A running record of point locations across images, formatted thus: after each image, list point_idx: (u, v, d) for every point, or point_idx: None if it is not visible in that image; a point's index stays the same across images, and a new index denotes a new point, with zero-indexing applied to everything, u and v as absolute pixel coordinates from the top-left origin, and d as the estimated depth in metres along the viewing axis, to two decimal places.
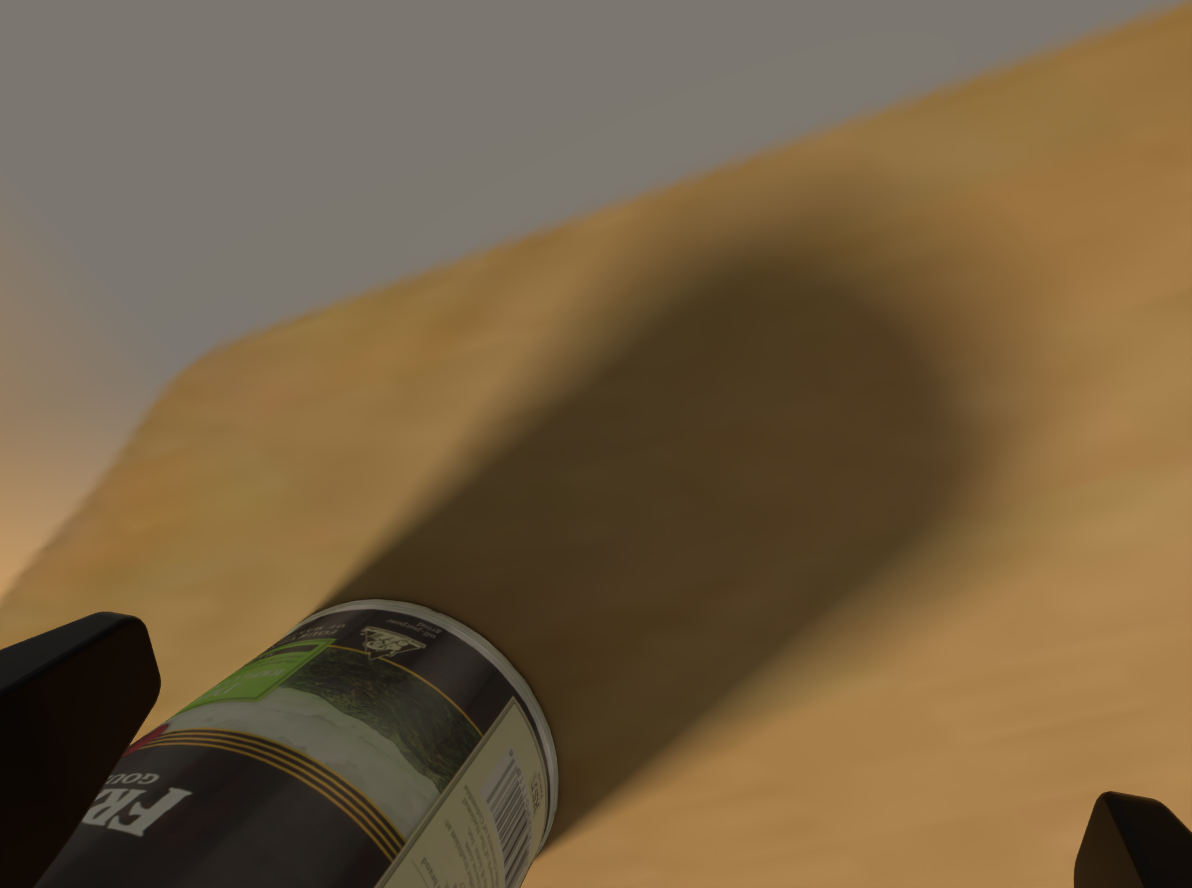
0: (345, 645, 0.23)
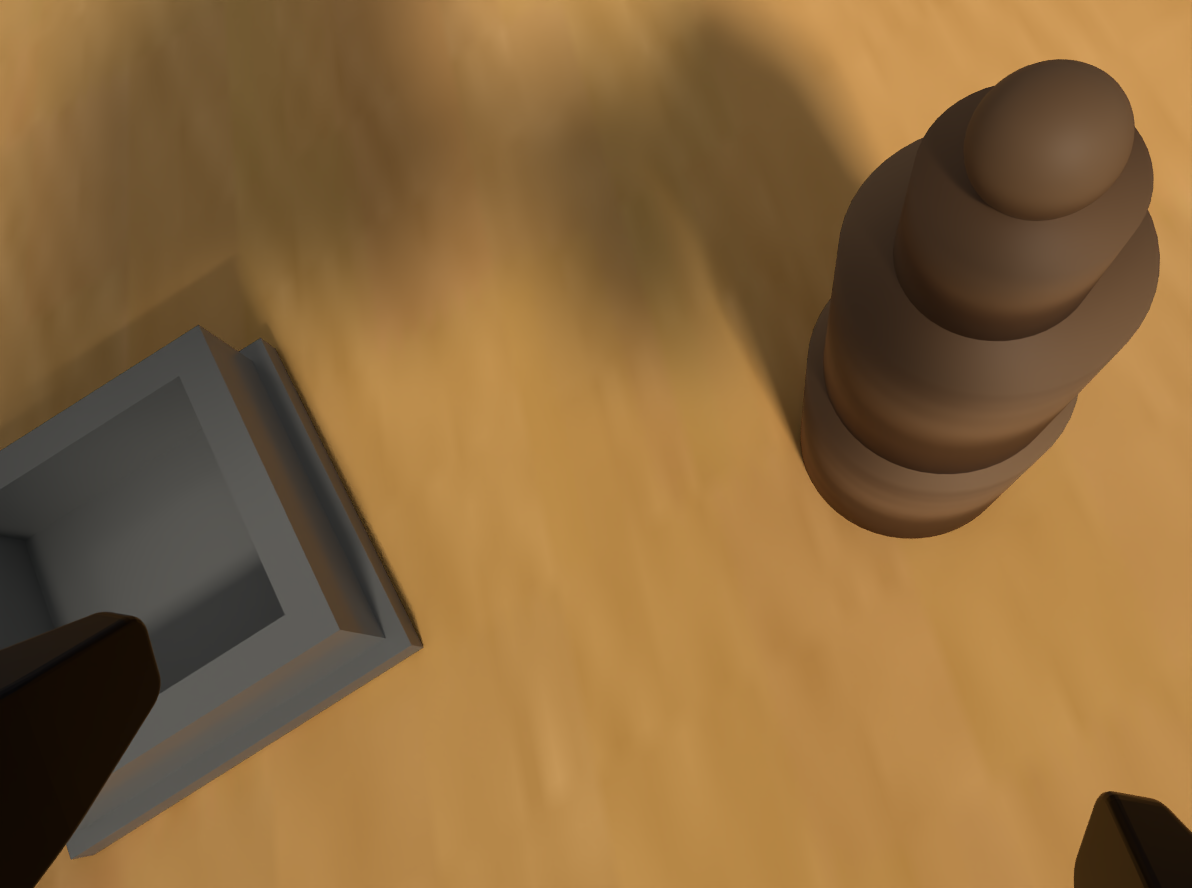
0: None
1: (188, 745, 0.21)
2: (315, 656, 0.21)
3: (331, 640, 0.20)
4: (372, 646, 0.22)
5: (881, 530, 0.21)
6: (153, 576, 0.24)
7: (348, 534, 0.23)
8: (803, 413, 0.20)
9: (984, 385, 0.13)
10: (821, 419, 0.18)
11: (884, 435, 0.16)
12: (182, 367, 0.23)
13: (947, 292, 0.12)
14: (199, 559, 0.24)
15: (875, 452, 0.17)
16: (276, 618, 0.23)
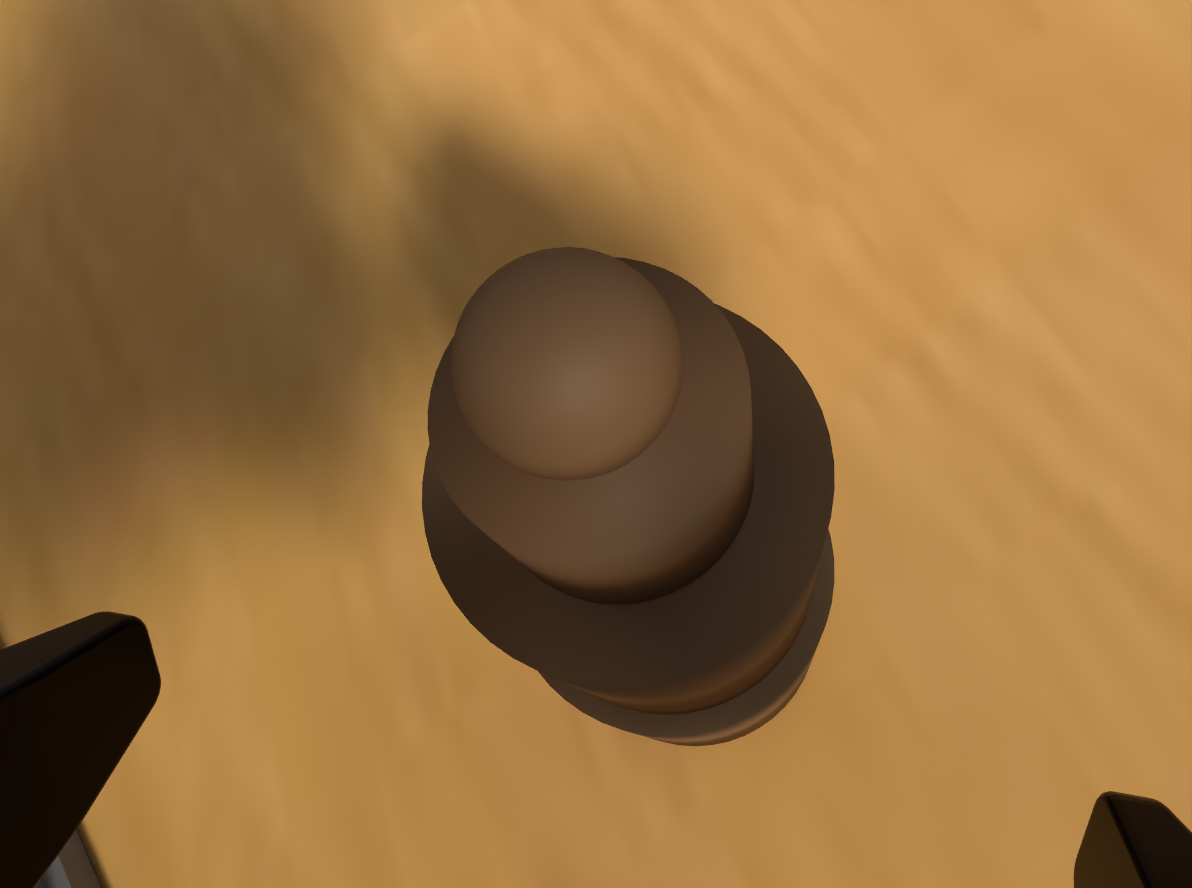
0: None
1: None
2: None
3: None
4: None
5: None
6: None
7: None
8: None
9: (609, 674, 0.09)
10: None
11: None
12: None
13: (519, 561, 0.08)
14: None
15: None
16: None
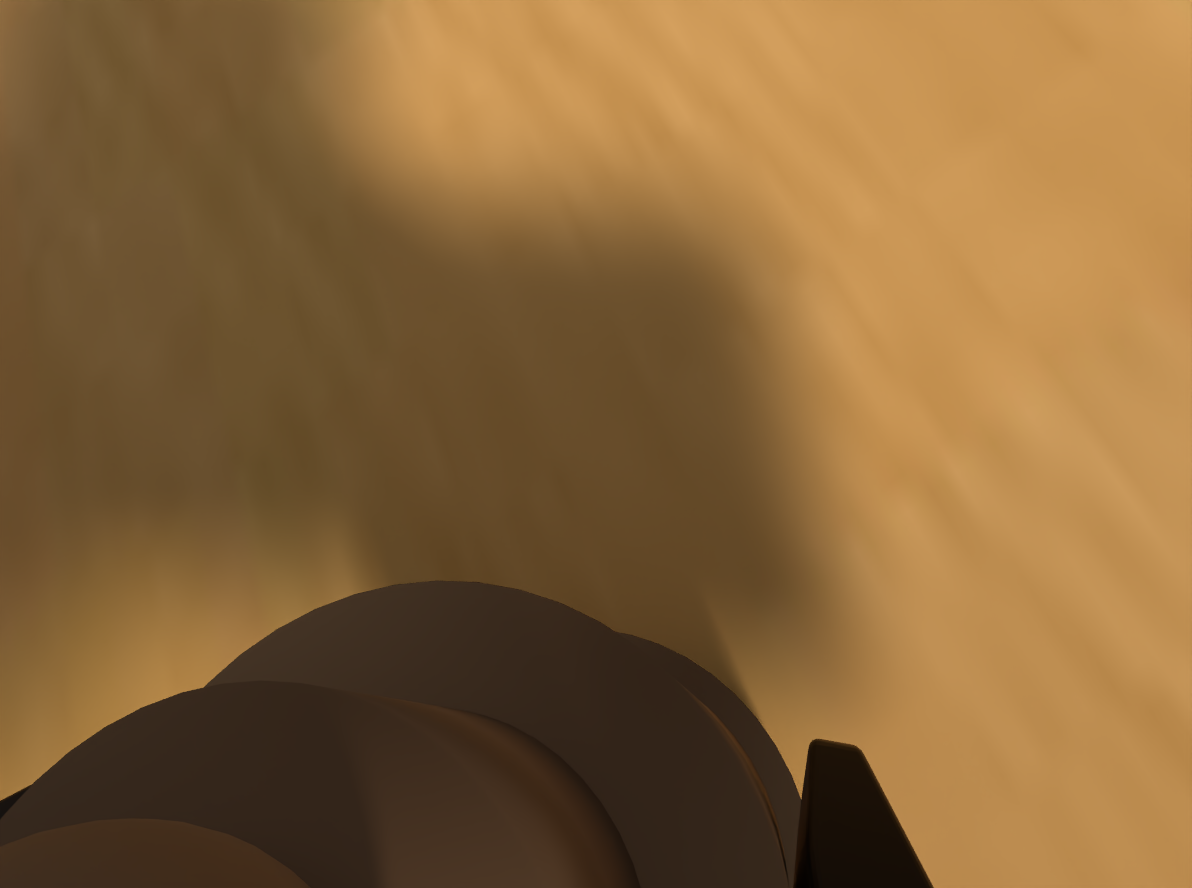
0: None
1: None
2: None
3: None
4: None
5: None
6: None
7: None
8: None
9: None
10: None
11: None
12: None
13: None
14: None
15: None
16: None
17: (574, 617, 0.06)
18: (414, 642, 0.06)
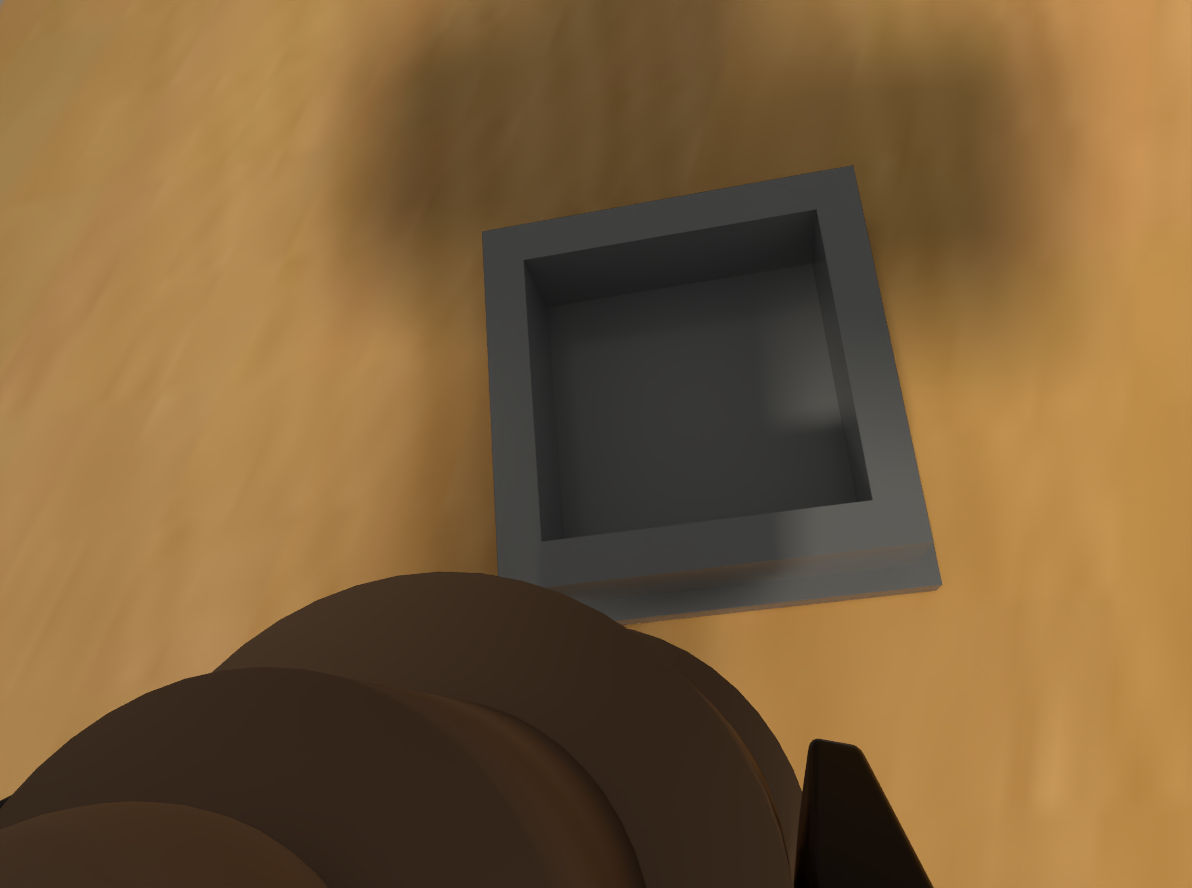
0: None
1: (691, 581, 0.20)
2: (875, 554, 0.19)
3: (910, 547, 0.18)
4: (898, 567, 0.20)
5: None
6: (673, 396, 0.23)
7: None
8: None
9: None
10: None
11: None
12: (822, 202, 0.21)
13: None
14: (728, 400, 0.22)
15: None
16: (796, 493, 0.21)
17: (576, 608, 0.06)
18: (416, 633, 0.06)
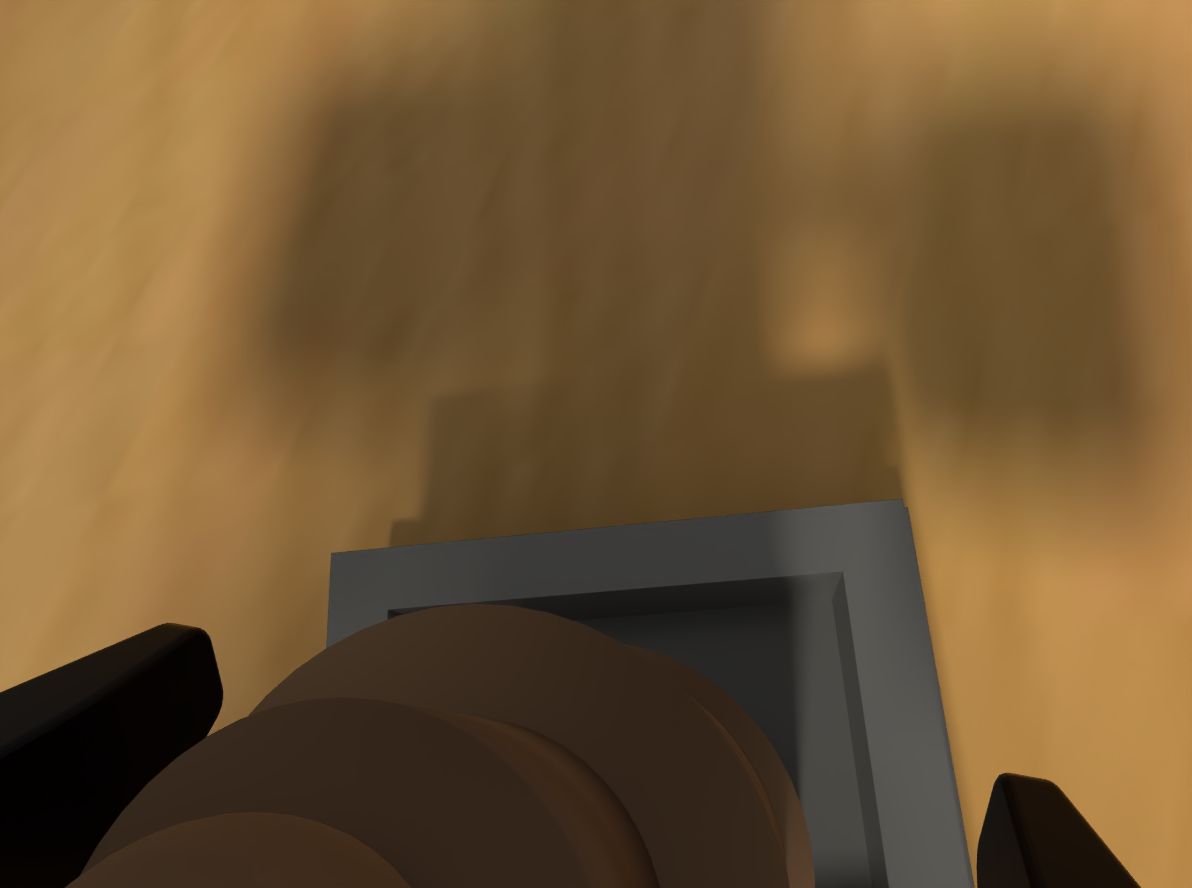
0: None
1: None
2: None
3: None
4: None
5: None
6: None
7: None
8: None
9: None
10: None
11: None
12: (853, 560, 0.13)
13: None
14: None
15: None
16: None
17: (596, 637, 0.06)
18: (453, 659, 0.06)
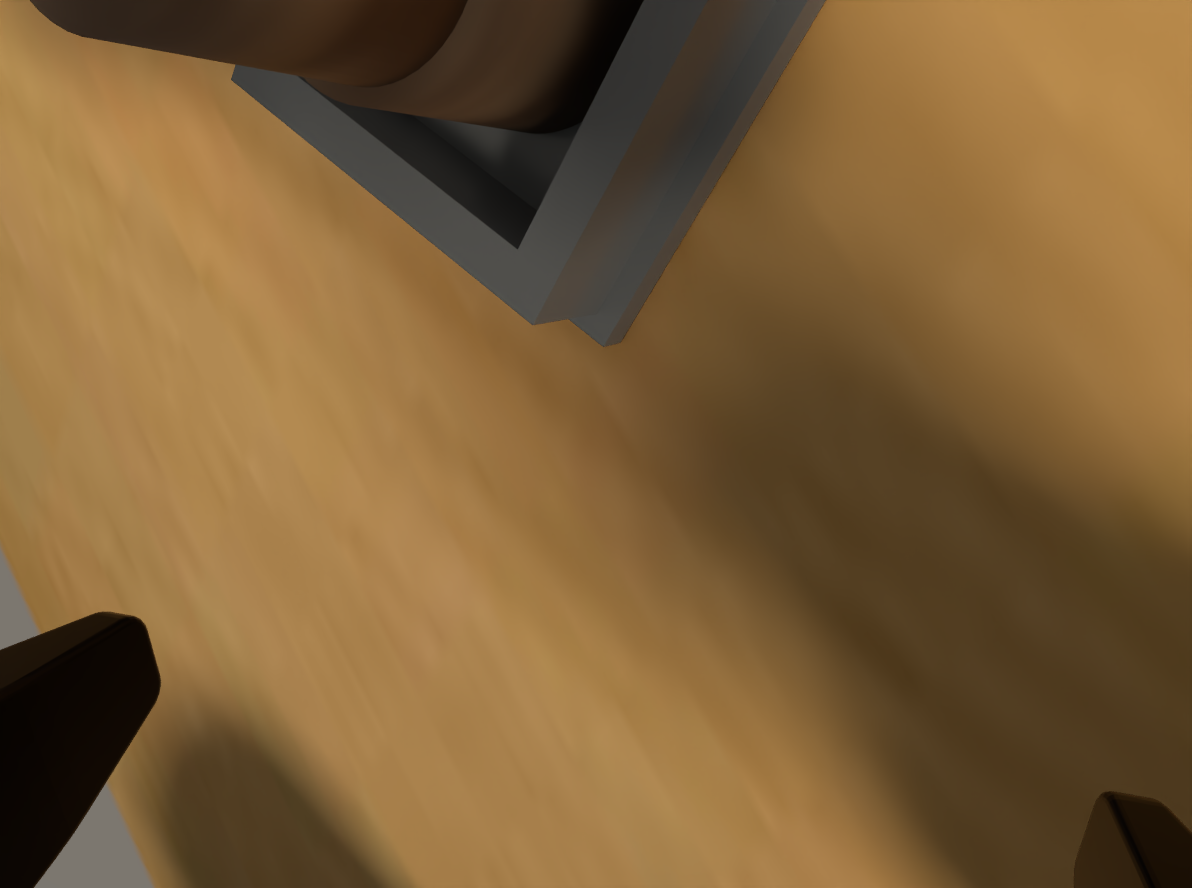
0: None
1: (670, 134, 0.16)
2: None
3: None
4: None
5: None
6: None
7: None
8: None
9: None
10: (365, 106, 0.15)
11: (359, 56, 0.13)
12: None
13: None
14: None
15: (412, 70, 0.14)
16: None
17: None
18: None
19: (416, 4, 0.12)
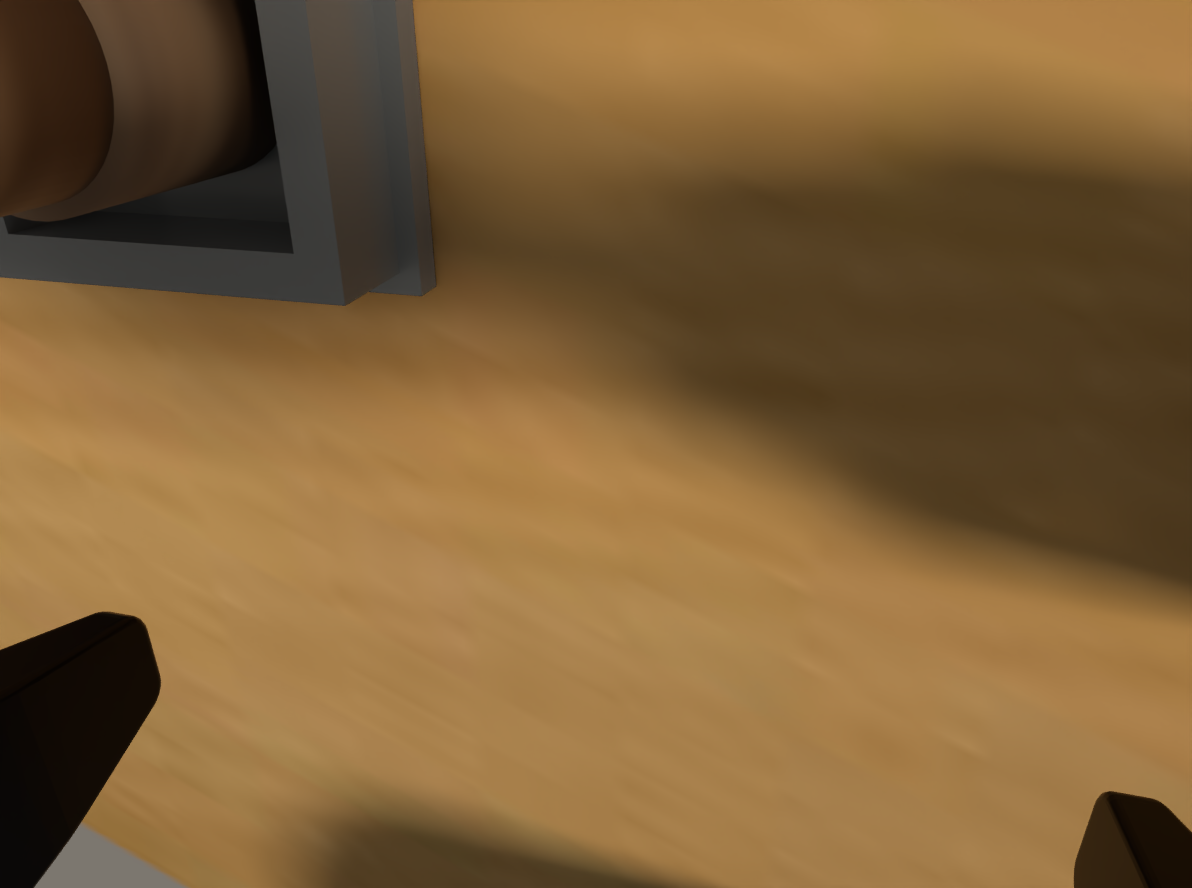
0: None
1: (352, 87, 0.17)
2: None
3: None
4: None
5: None
6: None
7: None
8: None
9: None
10: (90, 208, 0.16)
11: (49, 162, 0.14)
12: None
13: None
14: None
15: (104, 154, 0.15)
16: None
17: None
18: None
19: (65, 93, 0.14)
